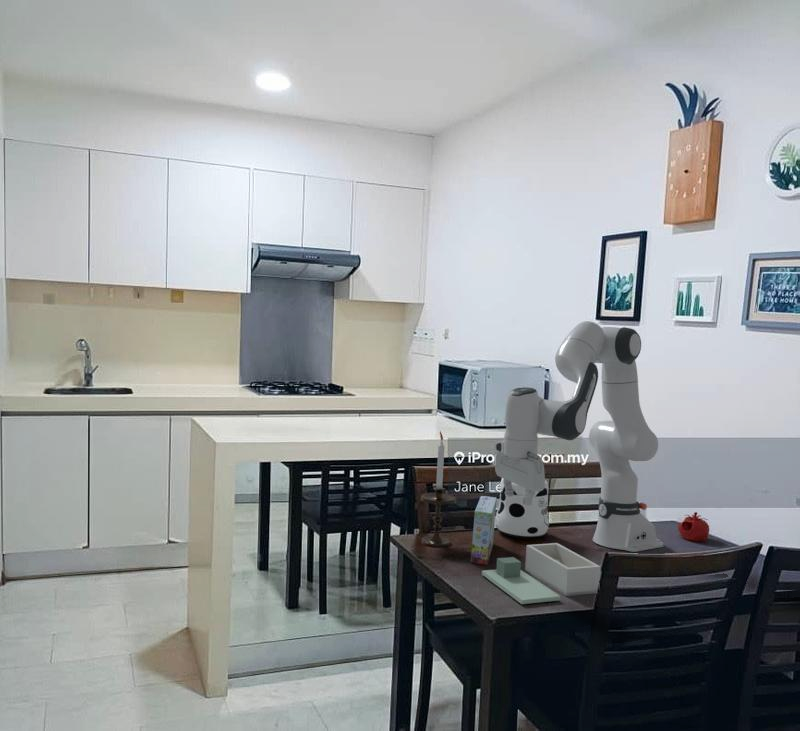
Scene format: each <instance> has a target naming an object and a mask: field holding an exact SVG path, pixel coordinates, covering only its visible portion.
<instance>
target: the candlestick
mask: <svg viewBox="0 0 800 731" xmlns="http://www.w3.org/2000/svg"><path fill="white" fill-rule="evenodd" d="M439 437H440V443H439V444H438V447H437V450H438V451H437V462H436V463H437V464H436V465H437V467H436V486H435V487H434V486H433V487H432V489H433V490H435V492H425V493H422V494H420V500H421V501H422V502H424V503H427V504H433V505H434V506H435V516H433V517H432V520H433V522H434V525H433V526H432V528H433V529H434V533H433V535H425V536H423V537H422V538H421V544H422V545H425V546H427V547H432V548H445V547H446V546H447V547H449V546H451V544H452V543H451V542H452V539H450V538H448V537H447V536H443V535H441V534H440V529H441V528H442V526H441V525H440V523H441V522H442V520H443V518H442V517H441V506H444V505H452V504H455V503H457V497H456V496H455V495H453V494H450V493H445V492H443V491H444V490H446V488H445V487H443V481H444V480H443V479H444V464H445V462H444V459H445V445H444V443H443V442H444V441H443V440H444V436H443V434H442V432H441V430H439ZM447 547H446V548H447Z"/></svg>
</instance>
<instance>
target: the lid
mask: <svg viewBox="0 0 800 731" xmlns="http://www.w3.org/2000/svg"><path fill="white" fill-rule="evenodd" d="M521 566H522V561H520V560H519V559H517V558H516V557H514V556H510V557H497V558H496V568H495V569H486V570H481V575H482V576H483V577H484V578H486V579H487V580H489V581H490V582H491V583H493V584H494V585H495V586H497V587H498V588H500V590H502V591H503V592H505V593H506V594H507V595H509V596H510V597H511V598H512V599H514V600H515V601H516V602H518V603H520V605H528V604H535V603H536V604H538V603H546V602H557V601H561V595H560V594H558V593H557V592H555V591H554V590H552V589H550V588H549V587H547V586H546V585H545V584H542V582H540V581H538V580H537V579H535V578H534V577H532V576H530V575H529V574H528V573H526V572H525V571H523V570H522V569H521V568H522V567H521Z"/></svg>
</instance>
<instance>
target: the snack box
mask: <svg viewBox="0 0 800 731" xmlns="http://www.w3.org/2000/svg"><path fill="white" fill-rule="evenodd" d="M497 499H498V498H497V497H496V496H495V497H493V496H487V495H480V497H479V500H478V503H477V505H476V508H475V510H474V516H473V518H474V519H473V530H472V542H471V554H470V563H472V564H480V565H485V566H487V565H489V560H490V557H491V553H492V550H493V547H494V534H495V524H496V513H497V510H496V508H497Z"/></svg>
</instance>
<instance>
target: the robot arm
mask: <svg viewBox="0 0 800 731" xmlns="http://www.w3.org/2000/svg"><path fill="white" fill-rule="evenodd" d="M641 349H642V338H641V336H640V335H639V333H638V332H637V330H635V328H630V327H625V326H624V327H616V326H615V327H614V326H603V327H601V326H600V325H599V324H598V323H596V322H593V321H582V322H580V323H578V324H577V325H576V326H574V327H573V329H572V330H571V331H570V332H569V333H568V334H567V335H566V337H565V338H564V340H563V341H562V342H561V344H560V346H559V347H558V349H557V351H556V353H555V357H554V360H555V361H554V362H555V367H556V368H557V371H558V372H559V373H560V374H561V375H562V377H564V378H565V379H566V380H568V381H571V382H573V383H574V384H576V385H575V388H574V391H573V393H572V396H571V398H570V399H568V400H564V401H561V400H560V401H559V400H552V399H551V400H549V399H547V398H546V399H544V398H543V397H541V396H540V395H539V393H538V391H537V389H535V388H533V387H528V386H527V387H526V386H525V387H516V388H513V389H511V390H510V391H509V392H508V395H507V400H506V404H505V405H506V406H505V415H504V423H505V432H504V436H503V440H501V441H498V442H496V443H495V445H494V450H495V451H496V453H495V460H494V462H495V463H494V465H495V466H494V467H495V468H494V469H495V470H494V471H495V474H496V476H498V477H500V478H501V479H502V478H503V483H504V486H505V495H507V496H509V497H510V496H513V495H514V494H513V493H514V490H513V489H512V482H513V483H515V484H517V485H519V486H522V487H524V488H526V490H525V492H527V493H526V496H525V497H523V503H524V504H525V505H531V504H532V498H533V496H534V494H535V491H542V490H543V489H544V487H545V480H546V477H545V475H546V472H545V471H546V470H545V466H544V463H543V460H542V459H541V456H540V455H539V454H538V441H539V440H538V438H539V437H538V434H539V435H543V436H549V437H553V438H555V437H556V438H558V439H562V440H566V441H573V440H576V439H577V438H578V437H580V435H582V433H583V432H584V430H585V428H586V425H587V420H588V412H589V408H590V406H591V404H592V400H593V398H594V394H595V391H596V388H597V386H598V385H597V384H598V380H599V369H598V367H597V365H596V364H601V394H602V396H601V397H602V405H603V407H604V409H605V410H606V411H607V413H608V414H609V415H610V418H611V420H602V421H597V422H595V423H594V424H593V425H592V426H591V428H590V430H589V434H588V439H589V443H590V445H591V446H592V448H594V450H595V453H596V454H597V458H598V462H599V465H600V473H601V484H600V485H601V487H600V488H601V489H600V497H599V498H598V499H599V500H598V518H597V524H596V528H595V532H594V534H593V537H592V541H593V543H595V544H598V545H600V546H602V547H605V548H609V549H614V550H615V549H616V550H622V551H628V552H631V553H636V552H637V553H638V552H641V551H647V550H653V549H658V548H663V547H664V542H663V541H661V539H659V538H657V531H656V530H657V529H656V527H655V525H654V524H653V523H652V522H651V521H650V520H649V519H648V518H646V517H645V516H644V515H643V514H642V513H641V510H643V511H646V510H647V508H648V505H647V503H644V502H640V503H639V501H637V500H638V499H637V497H638V484H639V483H638V482H639V481H638V480H639V479H638V476H637V473H635V472H634V470H633V469H632V467H631V464H630V461H632V462H647V461H650V460H652V459H653V458H654V457H655V456H656V454H657V452H658V450H659V441H658V438H657V435H656V434H655V432H653V431H652V430H651V428H650V427H649V425H648V424H647V422H646V419H645V416H644V414H643V411H642V408H641V403H640V395H639V394H640V393H639V392H640V391H639V375H638V367H637V362H636V359H637V358H638V357H639V355H640V354H641Z"/></svg>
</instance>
